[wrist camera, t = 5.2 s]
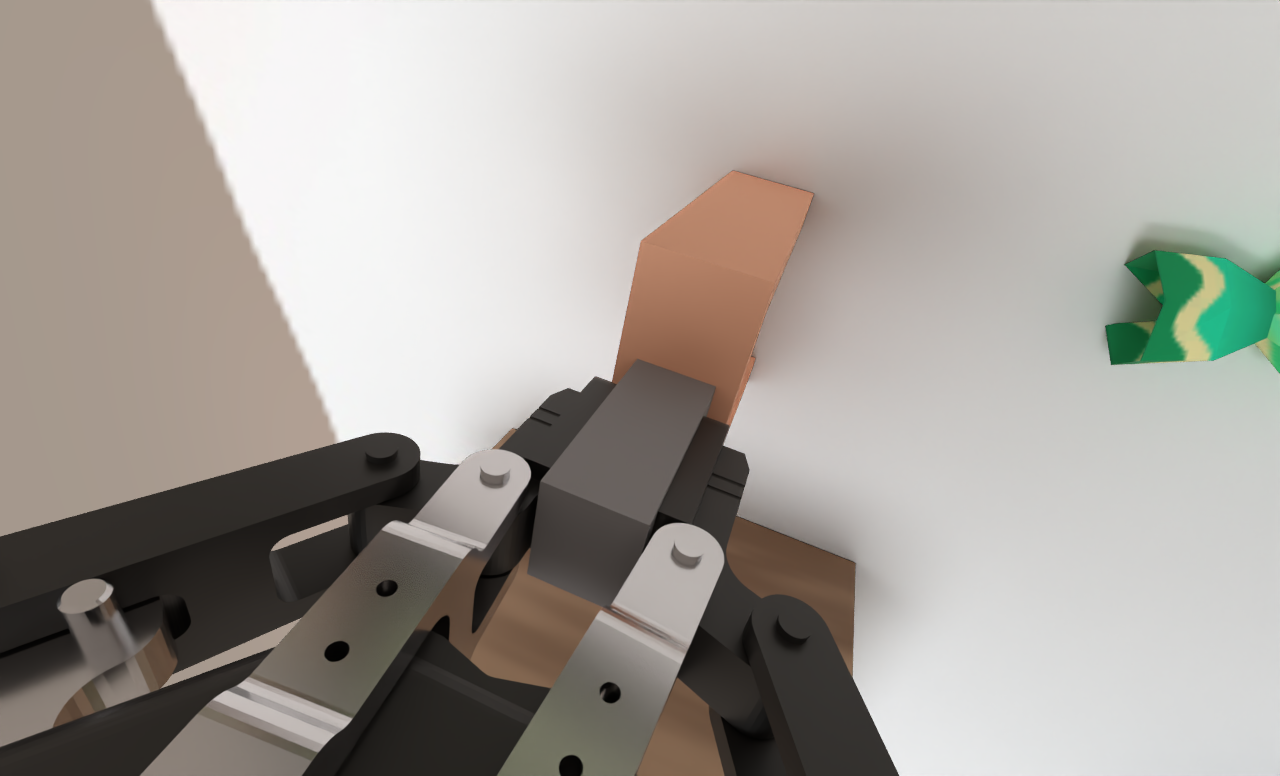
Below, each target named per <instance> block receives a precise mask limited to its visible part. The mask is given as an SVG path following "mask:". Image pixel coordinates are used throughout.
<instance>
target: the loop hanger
mask: <svg viewBox="0 0 1280 776" xmlns="http://www.w3.org/2000/svg"><path fill="white" fill-rule="evenodd" d="M813 195H814V193H811V192H807V191H804V190H800V189H797V188H793V187H790V186H786V185H782V184H779V183H775V182H772V181H768V180H765V179H761V178H758V177H754V176H751V175H747V174H743V173H740V172H736V171H731V172H730V173H729V174H727V175H726V176H725V177H723V178H722V179H721V180H720V181H718V182H717V183H716V184H714V185H713V186H712V187H710V188H709V189H708V190H707V191H705V192H704V193H703V194H701V195H700V196H699V197H697V198H696V199H695V200H694V201H692V202H691V203H690V204H688V205H687V206H686V207H684V208H683V209H682V210H681V211H679V212H678V213H677V214H675V215H674V216H673V217H672V218H670V219H669V220H668V221H666V222H665V223H664V224H662V225H661V226H660V227H659V228H657V229H656V230H655V231H653V232H652V233H651V234H649V235H648V236H647V237H646V238H644V239H643V240H642V241H641V244H640V248H639V253H638V258H637V263H636V268H635V273H634V277H633V282H632V287H631V292H630V297H629V302H628V307H627V311H626V316H625V321H624V326H623V331H622V336H621V341H620V345H619V350H618V355H617V360H616V365H615V370H614V375H613V379H612V382H613V383H615V384H617V385H616V386H615V387H614V389H613V390H612V391H611V393H610V394H609V395H608V396H607V398H606V399H605V400H604V401H603V403H602V404H601V405H600V406H599V408H598V409H597V410H596V411H595V413H594V414H593V415H592V417H591V418H590V419H589V420H588V422H587V423H586V424H585V425H584V427H583V428H582V429H581V430H580V432H579V433H578V434H577V435H576V437H575V438H574V439H573V441H572V442H571V443H570V444H569V446H568V447H567V448H566V449H565V451H564V452H563V453H562V454H561V456H560V457H559V458H558V459H557V461H556V462H555V463H554V465H553V466H552V467H551V468H550V470H549V471H548V472H547V473H546V475H545V476H544V477H543V478H542V480H541V481H540V487H539V494H538V501H537V508H536V515H535V522H534V529H533V536H532V543H531V550H530V557H529V564H528V571H527V574H528V575H530V576H533V577H535V578H537V579H540V580H542V581H544V582H546V583H549V584H551V585H553V586H555V587H558V588H560V589H562V590H565V591H567V592H569V593H571V594H574V595H576V596H578V597H581V598H583V599H585V600H587V601H590V602H592V603H594V604H596V605H599V606H601V607H604V606H605V605H607V606H609V607H610V605H611V604H612V603H613V601H614V600H615V598H616V596H617V595H618V593H619V591H620V590H621V588H622V586H623V585H624V583H625V581H626V580H627V578H628V576H629V575H630V573H631V572H632V570H633V568H634V567H635V565H636V563H637V562H638V560H639V558H640V557H641V555H642V553H643V552H644V550H645V548H646V547H647V545H648V543H649V539H650V536H651V533H652V529H653V526H654V523H655V519H656V516H657V513H658V510H659V508H660V506H661V504H662V502H663V499H664V497H665V495H666V493H667V491H668V489H669V487H670V485H671V483H672V481H673V478H674V476H675V474H676V472H677V470H678V468H679V466H680V464H681V462H682V460H683V457H684V455H685V453H686V451H687V449H688V447H689V445H690V443H691V441H692V439H693V436H694V434H695V432H696V430H697V428H698V426H699V424H700V422H701V420H702V418H703V416H706V417H708V418H711V419H714V420H717V421H719V422H722V423H725V424H728V425H730V426H731V423H732V421H733V418H734V415H735V413H736V410H737V408H738V405H739V402H740V400H741V397H742V395H743V392H744V389H745V387H746V384H747V382H748V379H749V376H750V373H751V370H752V368H753V365H754V362H755V359H756V358H753V357H751V355H752V352H753V349H754V346H755V343H756V341H757V338H758V335H759V332H760V329H761V326H762V323H763V320H764V318H765V315H766V312H767V310H768V307H769V305H770V303H771V300H772V298H773V296H774V293H775V291H776V288H777V286H778V284H779V281H780V279H781V276H782V274H783V272H784V269H785V267H786V264H787V262H788V260H789V257H790V255H791V253H792V250H793V248H794V245H795V243H796V241H797V238H798V236H799V233H800V231H801V229H802V226H803V223H804V221H805V218H806V215H807V212H808V209H809V206H810V204H811V201H812V198H813Z"/></svg>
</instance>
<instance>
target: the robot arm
mask: <svg viewBox="0 0 1280 776" xmlns="http://www.w3.org/2000/svg"><path fill="white" fill-rule="evenodd" d="M616 385H617V384H615V383H613V382H610V381H607V380H604V379H602V378H599V377H594V378H593V379H592V380H591V381H590V382H589V383H588V385H587V386H586V387H585V388H584V389H583V390H582V391H581V393H580V392H577V391H575V390H572V389H569V388H567V389H565V390H562V391H560V392H557V393H555V394H553V395H550V396H549V398H548V399H547V400H546V401H545V402H544V403H543V404H542V405H541V406H540V407H539V409H537V410H536V411H535V412H534V413H533V414H532V415H531V416H530V419H529V418H528V419H527V420H526V421H525V422H524V423H523V424H522V425H521V426H520V427H519V428H518V429H517V430H516V432H515V433H514V434H513V435H512V436H511V437H510V438H509V439H508V440H507V441H506V442H505V443H504V444H503V445H502V446H501V447H500V448H499V449H490V450H483V451H479V452H476V453H474V454H471V455H470V456H468V457H467V458H466V459H465V460H464V461H463V462H462V463H461V464H460V465H453V464H444V463H437V462H430V461H423V460H420V449H419V447H418V445H417V444H416V443H415V442H414V441H413V440H412V439H410V438H408V437H406V436H403V435H400V434H396V433H374V434H370V435H366V436H362V437H358V438H355V439H351V440H348V441H344V442H340V443H337V444H333V445H330V446H326V447H323V448H319V449H315V450H312V451H308V452H304V453H301V454H297V455H293V456H290V457H286V458H283V459H279V460H275V461H272V462H268V463H264V464H261V465H257V466H254V467H250V468H246V469H243V470H240V471H236V472H232V473H229V474H225V475H221V476H218V477H214V478H210V479H207V480H203V481H200V482H196V483H193V484H189V485H185V486H182V487H178V488H174V489H171V490H167V491H163V492H160V493H156V494H152V495H149V496H145V497H142V498H138V499H134V500H131V501H127V502H124V503H120V504H117V505H113V506H109V507H106V508H102V509H99V510H95V511H91V512H87V513H84V514H80V515H77V516H74V517H69V518H66V519H62V520H59V521H55V522H51V523H48V524H44V525H41V526H37V527H33V528H30V529H26V530H22V531H19V532H15V533H12V534H8V535H4V536H1V537H0V776H637V772H638V770H639V768H640V765H641V763H642V760H643V758H644V756H645V753H646V751H647V748H648V746H649V744H650V741H651V739H652V736H653V734H654V732H655V729H656V727H657V725H658V722H659V720H660V717H661V715H662V713H663V710H664V708H665V706H666V703H667V701H668V698H669V696H670V694H671V691H672V689H673V687H674V684H675V682H676V679H677V678H679V679H680V680H681V681H682V682H683V683H684V684H685V685H686V686H688V687H689V688H690V689H691V690H692V691H693V692H694V693H696V694H697V695H698V696H699V697H700V698H701V699H702V700H703V701H705V702H706V703H707V704H708V705H709V716H710V721H711V725H712V729H713V733H714V737H715V741H716V744H717V748H718V752H719V756H720V760H721V764H722V768H723V772H724V776H899V774H898V772H897V770H896V768H895V766H894V764H893V762H892V760H891V758H890V755H889V753H888V751H887V749H886V747H885V745H884V743H883V741H882V739H881V737H880V734H879V732H878V730H877V728H876V726H875V724H874V722H873V720H872V718H871V716H870V714H869V711H868V709H867V707H866V705H865V703H864V701H863V699H862V697H861V695H860V693H859V691H858V688H857V686H856V684H855V682H854V680H853V678H852V676H851V674H850V672H849V670H848V668H847V665H846V663H845V661H844V659H843V657H842V655H841V653H840V651H839V649H838V647H837V644H836V642H835V640H834V638H833V636H832V634H831V632H830V630H829V628H828V626H827V624H826V622H825V621H824V620H823V618H822V617H821V616H820V615H819V614H818V613H817V612H816V611H815V610H814V609H813V608H812V607H811V606H809V605H808V604H806V603H805V602H803V601H801V600H799V599H797V598H794V597H792V596H788V595H781V594H775V595H769V596H766V597H764V598H760V597H759V596H758V595H756V594H755V593H754V592H752V591H751V590H750V589H748V588H747V587H746V586H745V585H743V584H742V583H741V582H740V581H739V580H738V578H737V577H736V576H735V575H734V573H733V572H732V570H731V568H730V566H729V563H728V561H727V556H726V549H727V544H728V541H729V537H730V534H731V531H732V527H733V524H734V521H735V517H736V514H737V511H738V507H739V504H740V500H741V497H742V494H743V491H744V487H745V484H746V480H747V477H748V474H749V467H748V464H747V460H746V457H745V454H744V453H741V452H738V451H736V450H733V449H730V448H728V447H725V446H723V445H724V442H725V439H726V436H727V433H728V431H729V428H730V425H728V424H725V423H722V422H719V421H717V420H714V419H711V418H708V417H706V416H703V418H702V420H701V422H700V424H699V426H698V428H697V430H696V432H695V434H694V436H693V439H692V441H691V443H690V445H689V447H688V449H687V451H686V453H685V455H684V457H683V460H682V462H681V464H680V466H679V468H678V470H677V472H676V474H675V476H674V478H673V481H672V483H671V485H670V487H669V489H668V491H667V493H666V495H665V497H664V499H663V502H662V504H661V506H660V508H659V510H658V513H657V516H656V519H655V523H654V526H653V529H652V533H651V536H650V539H649V543H648V545H647V547H646V548H645V550H644V552H643V553H642V555H641V557H640V558H639V560H638V562H637V563H636V565H635V567H634V568H633V570H632V572H631V573H630V575H629V576H628V578H627V580H626V581H625V583H624V585H623V586H622V588H621V590H620V591H619V593H618V595H617V596H616V598H615V600H614V601H613V603H612V604H611V605H610V607H609V606H607V605H605V606H604V607H603V608H602V609H601V610H600V611H599V613H598V614H597V616H596V617H595V619H594V620H593V622H592V624H591V625H590V627H589V628H588V630H587V632H586V633H585V635H584V637H583V638H582V640H581V641H580V643H579V645H578V646H577V648H576V649H575V651H574V653H573V654H572V656H571V657H570V659H569V661H568V662H567V664H566V665H565V667H564V669H563V670H562V672H561V673H560V675H559V677H558V678H557V680H556V682H555V683H554V685H553V686H552V688H548V687H542V686H537V685H532V684H526V683H521V682H516V681H510V680H505V679H500V678H495V677H491V676H489V675H487V674H485V673H484V672H483V671H481V670H480V669H479V668H478V667H477V666H476V665H475V664H474V663H472V662H471V661H470V660H471V657H472V655H473V652H474V650H475V648H476V646H477V644H478V642H479V640H480V638H481V637H482V635H483V633H484V631H485V630H486V628H487V626H488V624H489V622H490V621H491V619H492V617H493V615H494V614H495V612H496V610H497V608H498V607H499V605H500V603H501V601H502V600H503V598H504V596H505V594H506V592H507V591H508V589H509V587H510V585H511V584H512V582H513V580H514V578H515V577H516V574H517V572H518V567H519V562H520V561H521V559H522V558H523V556H524V555H525V553H526V552H527V551H528V549H529V548H531V543H532V536H533V529H534V522H535V515H536V508H537V501H538V494H539V487H540V481H541V480H542V478H543V477H544V476H545V475H546V473H547V472H548V471H549V470H550V468H551V467H552V466H553V465H554V463H555V462H556V461H557V459H558V458H559V457H560V456H561V454H562V453H563V452H564V451H565V449H566V448H567V447H568V446H569V444H570V443H571V442H572V441H573V439H574V438H575V437H576V435H577V434H578V433H579V432H580V430H581V429H582V428H583V427H584V425H585V424H586V423H587V422H588V420H589V419H590V418H591V417H592V415H593V414H594V413H595V411H596V410H597V409H598V408H599V406H600V405H601V404H602V403H603V401H604V400H605V399H606V398H607V396H608V395H609V394H610V393H611V391H612V390H613V389H614V387H615V386H616ZM345 515H348V524H347V525H345V526H342V527H339V528H336V529H334V530H331V531H328V532H325V533H322V534H320V535H317V536H314V537H312V538H309V539H306V540H303V541H300V542H298V543H295V544H292V545H289V546H287V547H284V548H281V549H278V550H275V551H271V549H272V548H273V546H274V545H275V544H276V543H277V542H278V541H280V540H281V539H283V538H284V537H286V536H289V535H291V534H294V533H297V532H300V531H302V530H305V529H308V528H311V527H314V526H317V525H319V524H322V523H325V522H328V521H330V520H333V519H336V518H339V517H342V516H345ZM300 618H301V619H300ZM297 619H300V621H299V622H298V623H297V624H296V625H295V626H294V627H293V628H292V629H291V630H290V632H289V633H288V634H287V635H286V636H285V637H284V638H283V639H282V641H281V642H280V643H279V644H278V645H277V646H276V647H274V648H271V649H268V650H266V651H263V652H260V653H257V654H254V655H252V656H249V657H247V658H243V659H241V660H238V661H235V662H232V663H230V664H227V665H224V666H222V667H219V668H216V669H213V670H211V671H208V672H205V673H202V674H200V675H197V676H194V677H191V678H189V679H186V680H183V681H180V682H178V683H175V684H172V685H170V686H167V687H164V688H161V687H162V686H163V685H164V684H165V683H166V682H167V680H168V679H169V678H170V676H171V675H172V674H174V673H177V672H179V671H181V670H184V669H186V668H188V667H190V666H193V665H195V664H197V663H199V662H202V661H204V660H206V659H209V658H211V657H213V656H215V655H218V654H220V653H222V652H224V651H227V650H229V649H231V648H233V647H236V646H238V645H240V644H242V643H245V642H247V641H250V640H252V639H254V638H256V637H259V636H261V635H263V634H265V633H268V632H270V631H272V630H275V629H277V628H279V627H281V626H283V625H286V624H288V623H290V622H293V621H295V620H297ZM160 688H161V689H160Z"/></svg>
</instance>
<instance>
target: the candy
mask: <svg viewBox="0 0 1280 776" xmlns="http://www.w3.org/2000/svg"><path fill="white" fill-rule="evenodd" d="M1125 266H1126V267H1127V268H1128V269H1129V270H1130V271H1131V272H1132V273H1133V274H1134V275H1135V276H1136V277H1137V279H1138V280H1139V281H1140V282H1141V283H1142V284H1143V285H1144V286H1145V287H1146V288H1147V289H1148V290H1149V291H1150V292H1151V293H1152V294H1153V296H1154V297H1155V298H1156V299H1157V300H1158V301H1159V302H1160V303H1161V304H1162V305H1163V306H1162V308H1161V311H1160V313H1159V316H1158V318H1157V321H1148V322H1133V323H1118V324H1111V325H1106V326H1105V327H1106V334H1107V341H1108V348H1109V355H1110V361H1111V365H1117V364H1142V363H1166V362H1190V361H1214V360H1216V359H1218V358H1221V357H1223V356H1226V355H1228V354H1230V353H1233V352H1235V351H1237V350H1240V349H1242V348H1245V347H1247V346H1249V345H1252V344H1254V343H1255V344H1256V345H1257V347H1258V348H1259V349H1260V350H1261V351H1262V353H1263V354H1264V355H1265V356H1266V358H1267V359H1268V360H1269V361H1270V362H1271V364H1272V365H1273V366H1274V367H1275V369H1276V370H1277V371H1278V372H1279V373H1280V270H1279V271H1278V272H1277V273H1276V274H1275V275H1273V276H1272V277H1271V278H1270V279H1269V280H1268V281H1267V282H1266V283H1263V282H1262V281H1260V280H1259V279H1257V278H1255V277H1254V276H1252V275H1251V274H1249V273H1248V272H1246V271H1245V270H1243V269H1241V268H1240V267H1238V266H1237V265H1235V264H1234V263H1232V262H1231V261H1229V260H1227V259H1226V258H1217V257H1208V256H1200V255H1191V254H1182V253H1174V252H1165V251H1157V250H1154V251H1152V252H1150V253H1148V254H1146V255H1144V256H1141V257H1139V258H1137V259H1135V260H1133V261H1131V262H1129V263H1127V264H1125Z"/></svg>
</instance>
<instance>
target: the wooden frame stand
mask: <svg viewBox="0 0 1280 776" xmlns="http://www.w3.org/2000/svg"><path fill="white" fill-rule="evenodd" d="M515 432H516V429H513V428H512V429H511V430H510V431H509V432H508V433H507V434H506V435H505V436H504V437H503V438H502V439H501V440H500V441H499V442H498V443H497V444H496V445H495V446H494V447H493V448H492V449H499V448H500V447H501V446H502V445H503V444H504V443H505V442H506V441H507V440H508V439H509V438H510V437H511V436H512V435H513V434H514V433H515ZM530 550H531V548H529V549H528V551H527V552H526V553H525V555H524V556H523V558H522V559H521V561H520V562H519V567H518V572H517V574H516V577H515V578H514V580H513V582H512V584H511V585H510V587H509V589H508V591H507V592H506V594H505V596H504V598H503V600H502V601H501V603H500V605H499V607H498V608H497V610H496V612H495V614H494V615H493V617H492V619H491V621H490V622H489V624H488V626H487V628H486V630H485V631H484V633H483V635H482V637H481V638H480V640H479V642H478V644H477V646H476V648H475V650H474V652H473V655H472V657H471V660H470V661H471V662H472V663H474V664H475V665H476V666H477V667H478V668H479V669H480V670H481V671H483V672H484V673H485V674H487V675H489V676H491V677H495V678H500V679H505V680H510V681H516V682H521V683H526V684H532V685H537V686H542V687H548V688H552V686H553V685H554V683H555V682H556V680H557V678H558V677H559V675H560V673H561V672H562V670H563V669H564V667H565V665H566V664H567V662H568V661H569V659H570V657H571V656H572V654H573V653H574V651H575V649H576V648H577V646H578V645H579V643H580V641H581V640H582V638H583V637H584V635H585V633H586V632H587V630H588V628H589V627H590V625H591V624H592V622H593V620H594V619H595V617H596V616H597V614H598V613H599V611H600V610H601V609H602V608H603V607H601V606H599V605H596V604H594V603H592V602H590V601H587V600H585V599H583V598H581V597H578V596H576V595H574V594H571V593H569V592H567V591H565V590H562V589H560V588H558V587H555V586H553V585H551V584H549V583H546V582H544V581H542V580H540V579H537V578H535V577H533V576H530V575H528V574H527V571H528V564H529V557H530ZM726 556H727V561H728V563H729V566H730V568H731V570H732V572H733V573H734V575H735V576H736V577H737V578H738V580H739V581H740V582H741V583H742V584H743V585H745V586H746V587H747V588H748V589H750V590H751V591H752V592H754V593H755V594H756V595H758V596H759V597H760V598H764V597H766V596H769V595H775V594H781V595H788V596H792V597H794V598H797V599H799V600H801V601H803V602H805V603H806V604H808V605H809V606H811V607H812V608H813V609H814V610H815V611H816V612H817V613H818V614H819V615H820V616H821V617H822V618H823V620H824V621H825V622H826V624H827V626H828V628H829V630H830V632H831V634H832V636H833V638H834V640H835V642H836V644H837V647H838V649H839V651H840V653H841V655H842V657H843V659H844V661H845V663H846V665H847V668H848V670H849V672H850V674H851V676H852V675H853V638H854V601H855V565H856V563H854V562H852V561H849V560H846V559H844V558H841V557H839V556H836V555H834V554H831V553H829V552H826V551H824V550H821V549H818V548H816V547H813V546H811V545H808V544H806V543H803V542H801V541H798V540H796V539H793V538H790V537H788V536H785V535H783V534H780V533H778V532H775V531H773V530H770V529H768V528H765V527H762V526H760V525H757V524H755V523H752V522H750V521H747V520H745V519H742V518H740V517H737V516H736V517H735V521H734V524H733V527H732V531H731V534H730V537H729V541H728V544H727V549H726ZM637 776H724V772H723V768H722V764H721V760H720V756H719V752H718V748H717V744H716V741H715V737H714V733H713V729H712V725H711V721H710V716H709V705H708V704H707V703H706V702H705V701H703V700H702V699H701V698H700V697H699V696H698V695H697V694H696V693H694V692H693V691H692V690H691V689H690V688H689V687H688V686H686V685H685V684H684V683H683V682H682V681H681V680H680V679H679V678H677V679H676V682H675V684H674V687H673V689H672V691H671V694H670V696H669V698H668V701H667V703H666V706H665V708H664V710H663V713H662V715H661V717H660V720H659V722H658V725H657V727H656V729H655V732H654V734H653V736H652V739H651V741H650V744H649V746H648V748H647V751H646V753H645V756H644V758H643V760H642V763H641V765H640V768H639V770H638V772H637Z"/></svg>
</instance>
